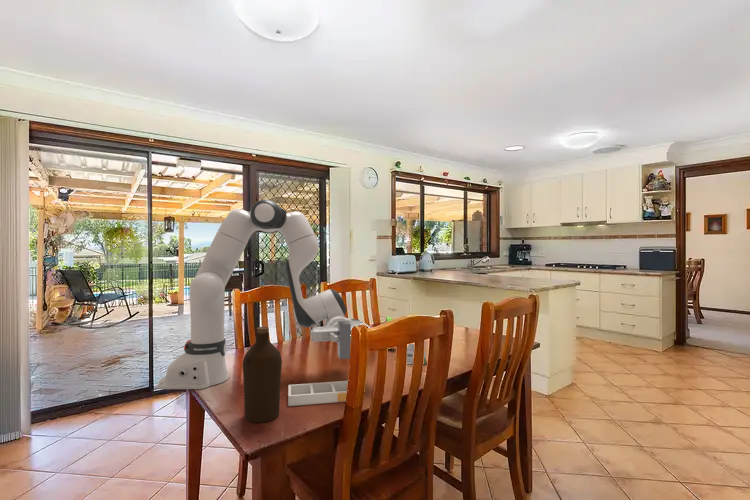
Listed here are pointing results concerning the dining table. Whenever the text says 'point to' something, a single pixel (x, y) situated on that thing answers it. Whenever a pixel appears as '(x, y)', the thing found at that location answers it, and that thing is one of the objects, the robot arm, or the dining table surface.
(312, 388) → the rack
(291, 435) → the dining table surface
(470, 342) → the dining table surface
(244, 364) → the olive oil
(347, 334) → the dark grey metallic block
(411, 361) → the ink box
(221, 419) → the dining table surface
